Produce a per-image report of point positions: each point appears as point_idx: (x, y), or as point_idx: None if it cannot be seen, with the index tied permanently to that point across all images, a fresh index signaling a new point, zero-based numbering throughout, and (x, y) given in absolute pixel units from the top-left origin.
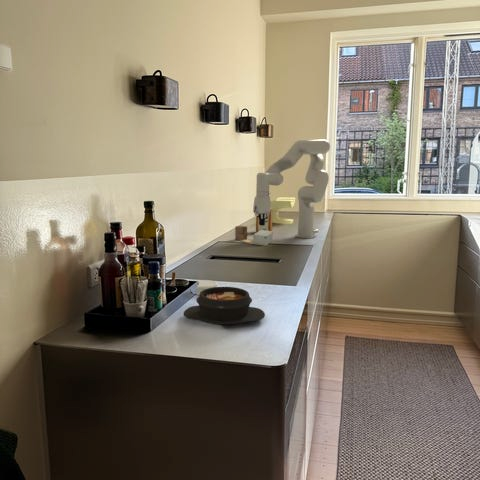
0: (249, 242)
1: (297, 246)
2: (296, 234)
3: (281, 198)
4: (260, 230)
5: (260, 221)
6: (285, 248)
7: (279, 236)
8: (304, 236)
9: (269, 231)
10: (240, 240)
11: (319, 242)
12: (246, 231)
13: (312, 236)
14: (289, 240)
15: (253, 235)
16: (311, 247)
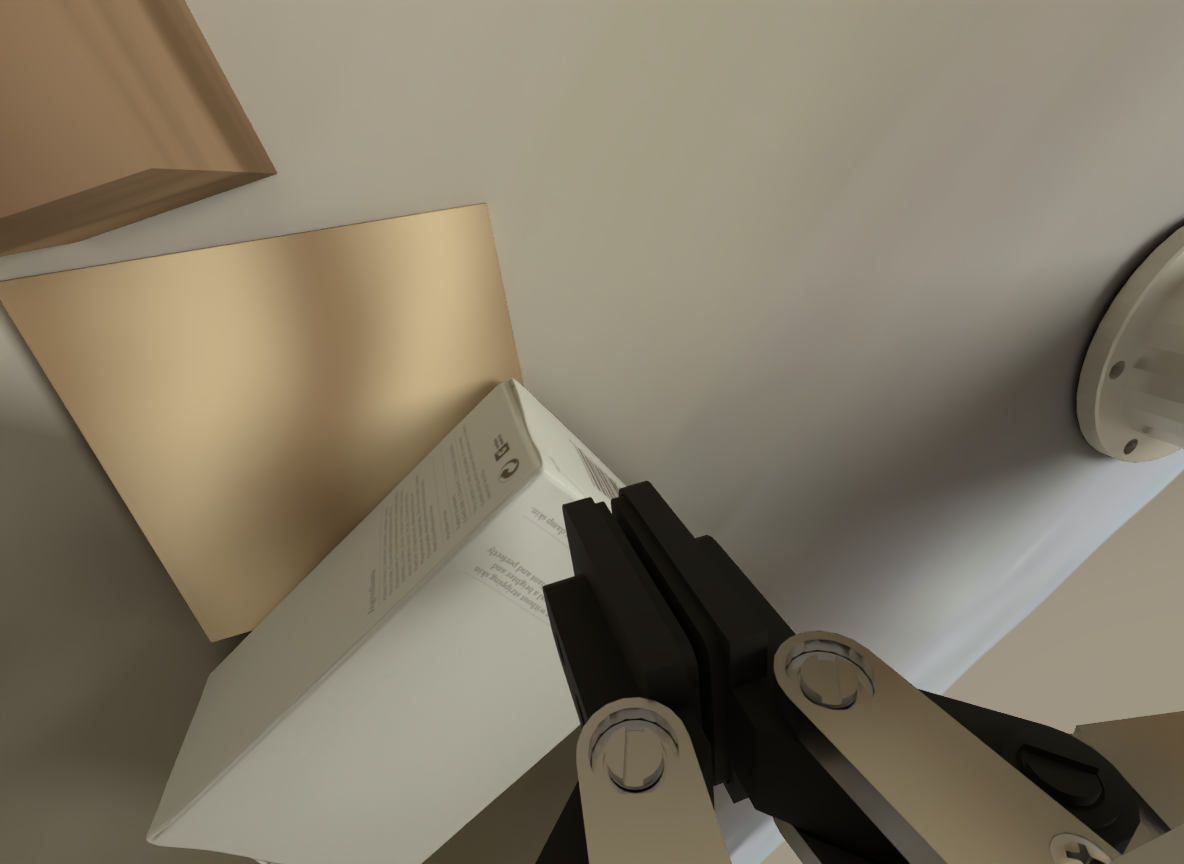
0: (189, 549)
1: None
2: (1170, 276)
3: None
4: (513, 522)
5: (572, 697)
6: (529, 855)
7: (1002, 153)
8: (1101, 441)
9: None
10: (23, 293)
11: (980, 654)
12: (185, 182)
13: (1152, 459)
14: (862, 499)
15: (157, 823)
16: (762, 820)
